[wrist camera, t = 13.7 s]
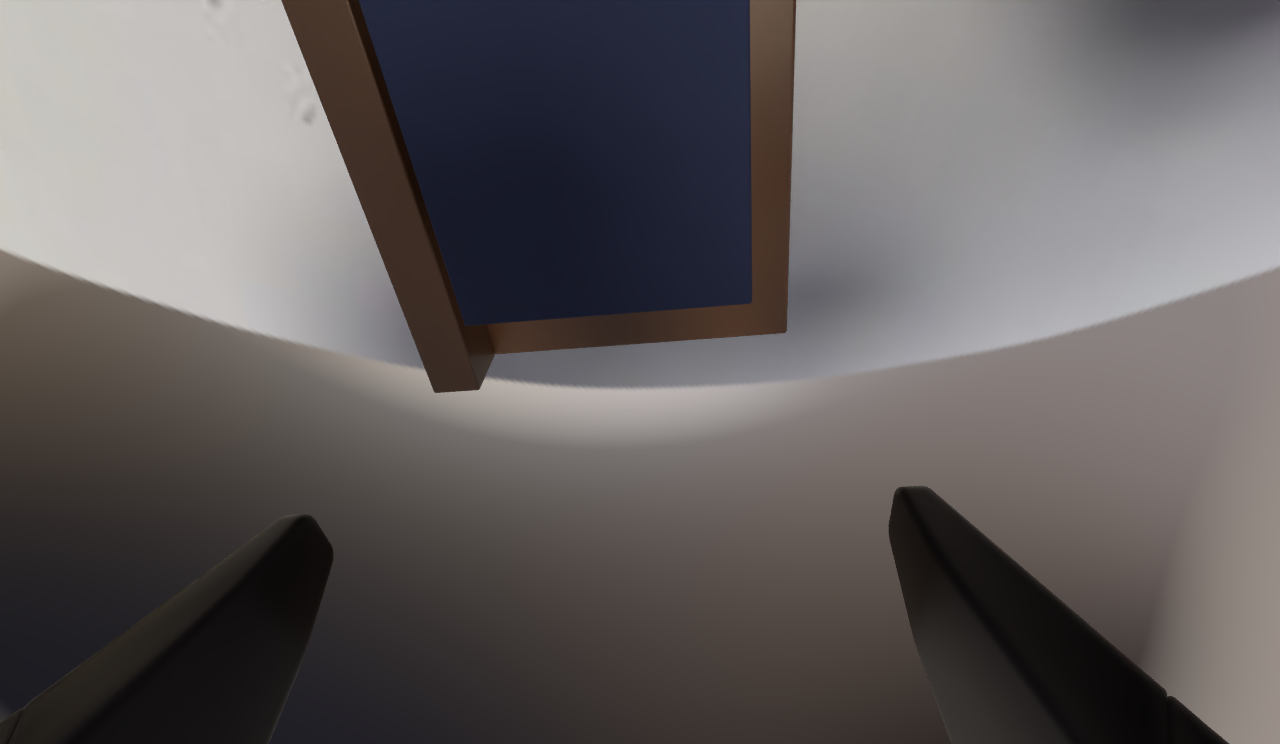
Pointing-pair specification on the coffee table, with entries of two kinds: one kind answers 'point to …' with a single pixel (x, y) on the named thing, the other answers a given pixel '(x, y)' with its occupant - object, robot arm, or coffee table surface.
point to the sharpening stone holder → (409, 246)
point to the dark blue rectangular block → (577, 149)
